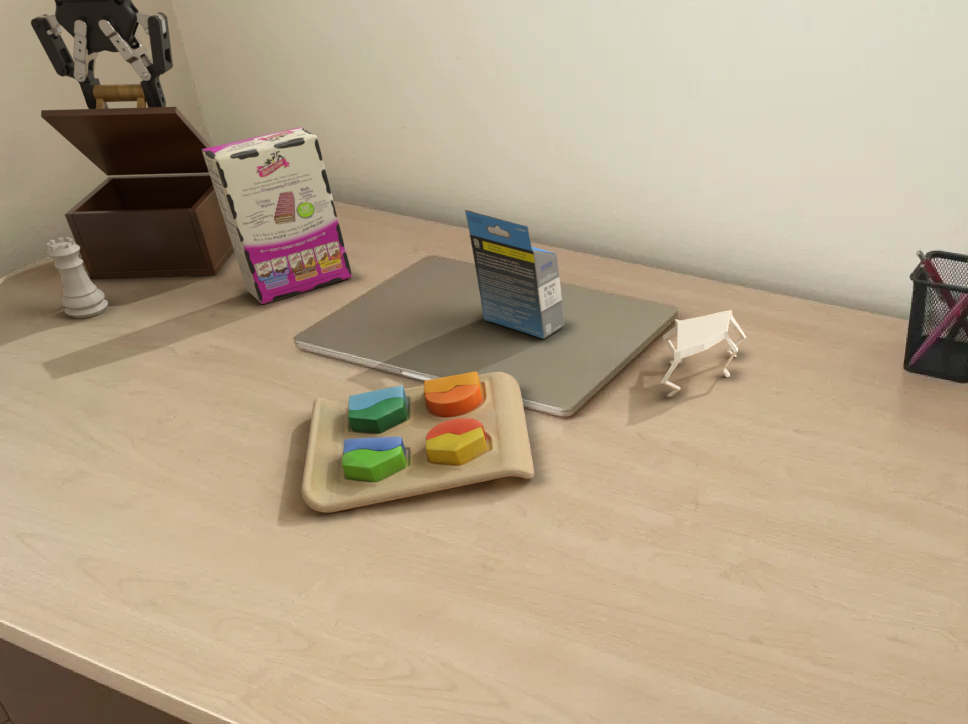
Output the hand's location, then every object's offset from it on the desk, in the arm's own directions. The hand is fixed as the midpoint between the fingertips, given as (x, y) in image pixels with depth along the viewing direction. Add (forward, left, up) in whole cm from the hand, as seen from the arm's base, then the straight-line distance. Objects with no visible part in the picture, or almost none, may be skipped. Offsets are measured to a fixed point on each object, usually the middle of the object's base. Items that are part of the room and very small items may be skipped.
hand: (129, 113), depth 121 cm
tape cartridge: (+45, -24, -17) cm, 53 cm away
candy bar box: (+18, -12, -17) cm, 27 cm away
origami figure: (+63, -37, -17) cm, 75 cm away
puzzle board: (+38, -48, -17) cm, 63 cm away
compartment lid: (0, 0, -4) cm, 4 cm away
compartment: (0, -2, -16) cm, 16 cm away
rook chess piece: (-4, -17, -17) cm, 24 cm away
